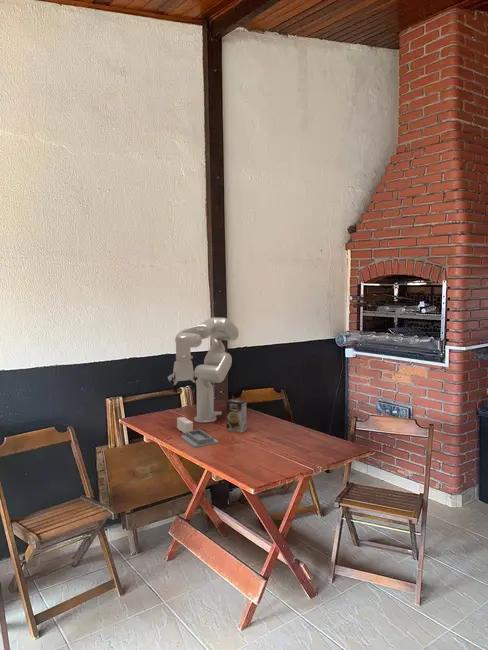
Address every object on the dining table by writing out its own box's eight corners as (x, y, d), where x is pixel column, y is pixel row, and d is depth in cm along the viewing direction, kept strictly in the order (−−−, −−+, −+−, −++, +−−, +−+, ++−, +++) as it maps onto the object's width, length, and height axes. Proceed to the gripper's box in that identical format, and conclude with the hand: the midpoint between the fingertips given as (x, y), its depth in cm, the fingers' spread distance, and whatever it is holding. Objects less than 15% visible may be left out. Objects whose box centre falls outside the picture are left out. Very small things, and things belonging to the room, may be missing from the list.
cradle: (204, 433, 274) (204, 428, 273) (218, 443, 259) (218, 437, 259) (180, 438, 267) (180, 432, 267) (194, 447, 253) (194, 441, 252)
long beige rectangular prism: (184, 427, 286) (183, 416, 285) (192, 433, 275) (192, 422, 274) (177, 428, 284) (177, 417, 283) (185, 434, 273) (185, 423, 272)
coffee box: (226, 430, 279) (225, 400, 277) (232, 427, 285) (231, 398, 283) (241, 433, 275) (241, 402, 273) (247, 429, 280) (246, 399, 279)
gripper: (195, 356, 283) (196, 387, 284) (165, 359, 274) (165, 391, 276) (201, 358, 276) (201, 390, 278) (170, 361, 268) (171, 394, 269)
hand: (183, 391), depth 277 cm, fingers open, 9 cm apart
